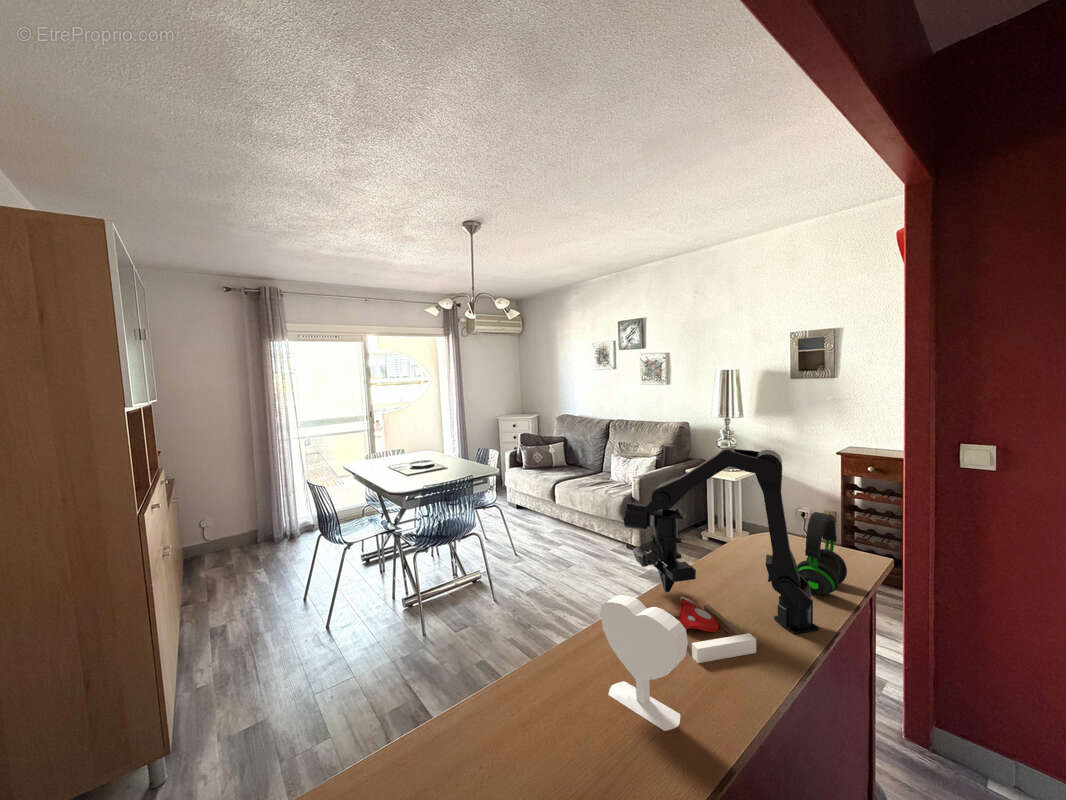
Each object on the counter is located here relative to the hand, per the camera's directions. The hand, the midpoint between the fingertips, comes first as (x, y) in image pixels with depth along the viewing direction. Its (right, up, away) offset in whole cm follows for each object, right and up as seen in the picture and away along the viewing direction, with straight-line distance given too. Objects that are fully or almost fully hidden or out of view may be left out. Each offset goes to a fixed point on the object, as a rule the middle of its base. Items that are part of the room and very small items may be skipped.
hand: (666, 591), depth 115 cm
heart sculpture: (-15, -5, -36) cm, 39 cm away
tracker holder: (+4, -3, -11) cm, 12 cm away
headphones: (+41, 0, +2) cm, 41 cm away
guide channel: (+3, -2, -15) cm, 16 cm away
